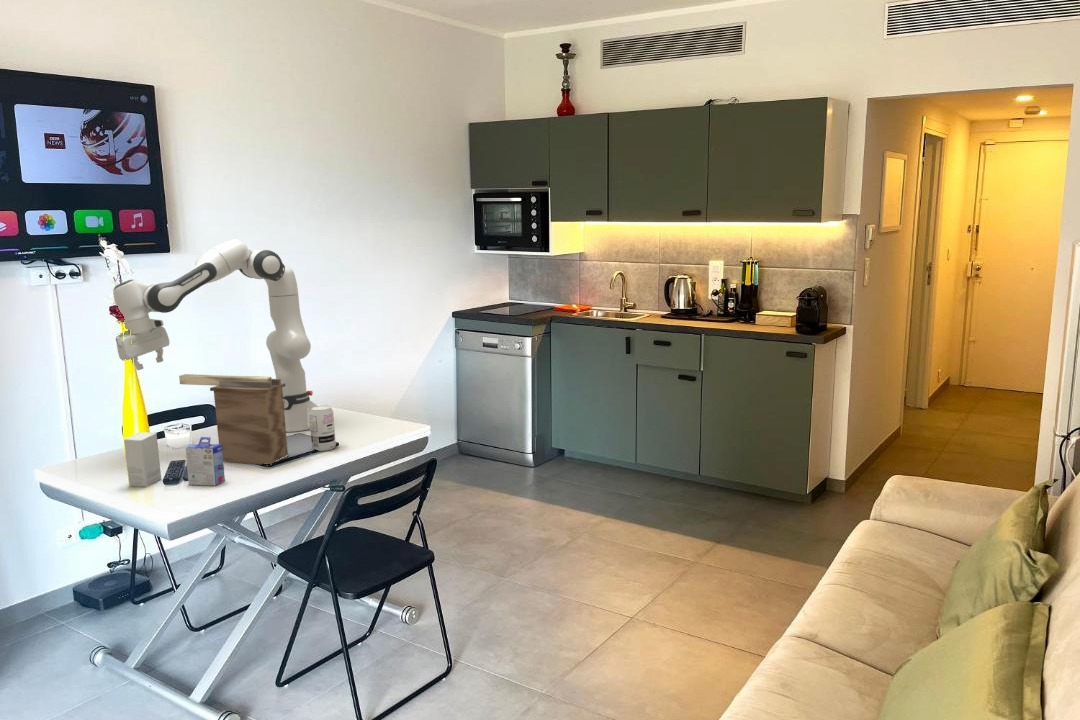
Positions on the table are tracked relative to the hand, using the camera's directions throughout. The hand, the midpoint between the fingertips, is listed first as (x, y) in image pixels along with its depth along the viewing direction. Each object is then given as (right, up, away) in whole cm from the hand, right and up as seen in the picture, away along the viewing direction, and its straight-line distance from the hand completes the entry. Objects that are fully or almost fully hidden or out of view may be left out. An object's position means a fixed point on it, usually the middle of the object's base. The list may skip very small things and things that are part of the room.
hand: (150, 365), depth 291 cm
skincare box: (+10, -37, -25) cm, 46 cm away
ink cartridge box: (+31, -37, -27) cm, 55 cm away
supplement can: (+58, -30, +9) cm, 66 cm away
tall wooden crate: (+37, -32, -2) cm, 49 cm away
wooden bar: (+28, -7, -4) cm, 29 cm away
